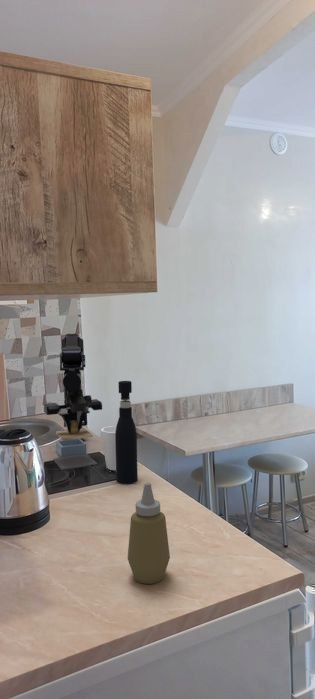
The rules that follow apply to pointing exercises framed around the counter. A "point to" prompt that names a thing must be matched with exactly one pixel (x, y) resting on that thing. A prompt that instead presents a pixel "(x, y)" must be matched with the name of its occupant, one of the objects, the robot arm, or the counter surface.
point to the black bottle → (126, 439)
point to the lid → (74, 432)
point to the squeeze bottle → (148, 540)
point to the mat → (74, 461)
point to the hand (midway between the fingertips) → (73, 432)
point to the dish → (70, 447)
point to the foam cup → (109, 446)
